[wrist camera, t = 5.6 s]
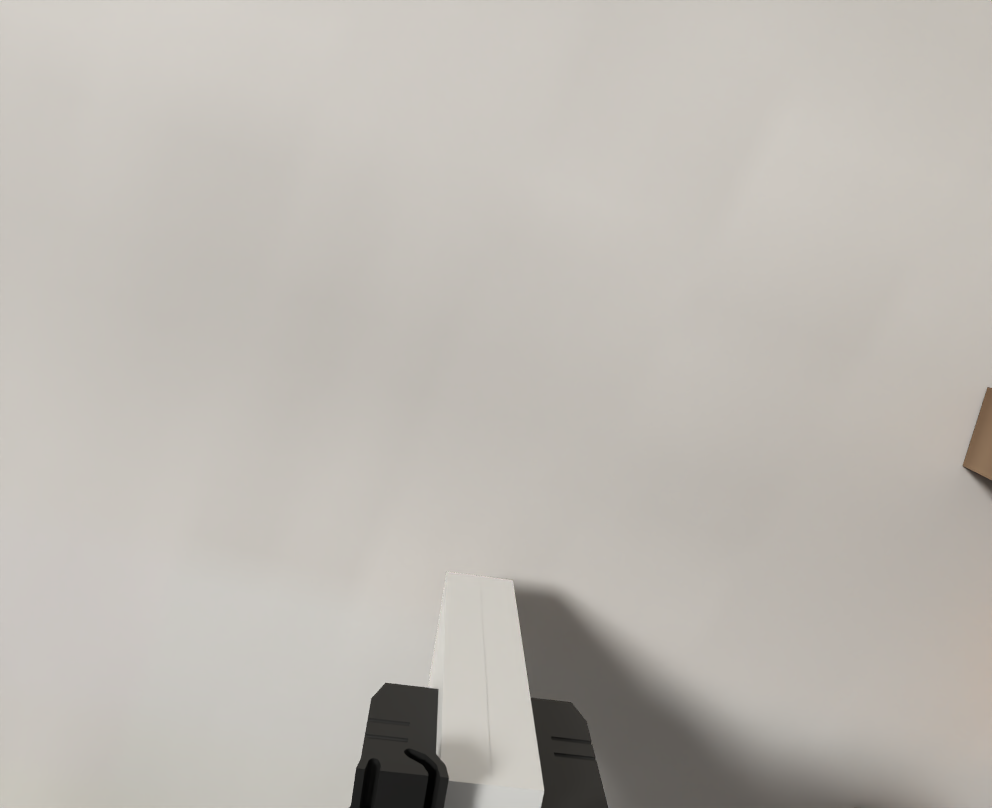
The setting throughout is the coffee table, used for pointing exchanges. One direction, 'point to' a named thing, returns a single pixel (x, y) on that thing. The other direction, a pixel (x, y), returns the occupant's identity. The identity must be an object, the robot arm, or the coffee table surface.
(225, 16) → the coffee table surface
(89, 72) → the coffee table surface
